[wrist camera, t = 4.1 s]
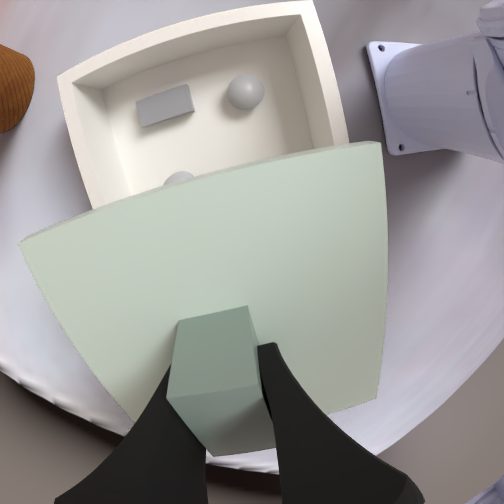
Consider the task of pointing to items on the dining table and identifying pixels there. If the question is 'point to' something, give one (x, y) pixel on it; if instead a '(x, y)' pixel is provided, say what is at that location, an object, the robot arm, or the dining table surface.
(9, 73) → the disposable coffee cup
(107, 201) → the tub
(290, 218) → the lid
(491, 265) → the dining table surface
